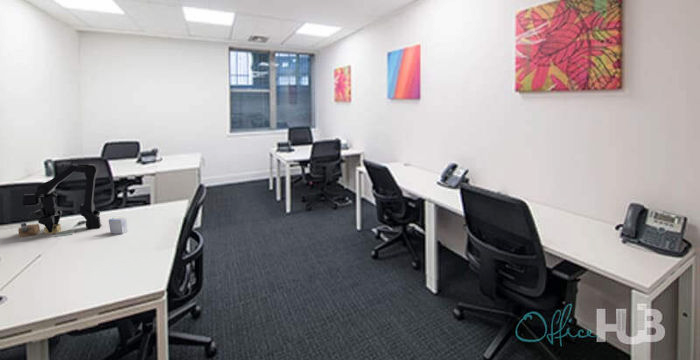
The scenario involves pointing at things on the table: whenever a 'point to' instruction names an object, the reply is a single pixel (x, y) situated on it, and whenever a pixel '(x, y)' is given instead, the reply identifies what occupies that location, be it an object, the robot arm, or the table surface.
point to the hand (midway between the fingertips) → (53, 229)
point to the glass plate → (64, 233)
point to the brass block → (53, 229)
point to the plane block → (30, 230)
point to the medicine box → (118, 225)
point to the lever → (24, 227)
